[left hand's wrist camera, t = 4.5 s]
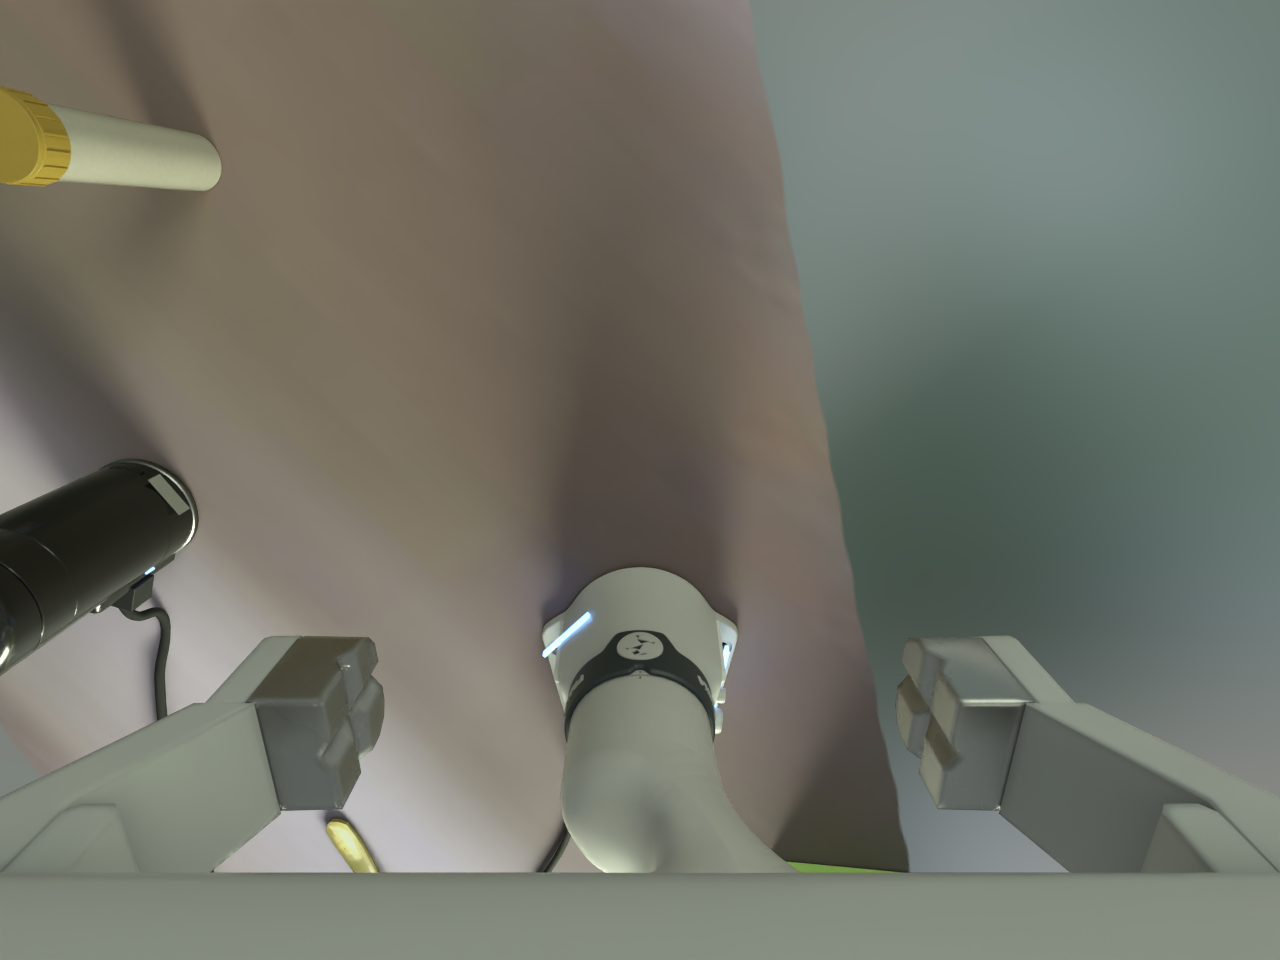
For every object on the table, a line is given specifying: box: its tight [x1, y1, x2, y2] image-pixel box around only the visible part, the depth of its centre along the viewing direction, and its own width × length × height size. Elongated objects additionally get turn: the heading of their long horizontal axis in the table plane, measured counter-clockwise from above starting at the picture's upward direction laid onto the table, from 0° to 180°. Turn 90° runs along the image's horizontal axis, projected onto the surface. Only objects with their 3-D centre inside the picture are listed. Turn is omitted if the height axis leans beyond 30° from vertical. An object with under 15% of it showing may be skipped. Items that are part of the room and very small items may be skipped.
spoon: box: [326, 819, 379, 873], centre depth 80 cm, size 35×11×2 cm, turn 22°
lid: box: [0, 87, 71, 186], centre depth 36 cm, size 5×5×2 cm
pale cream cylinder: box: [46, 103, 221, 191], centre depth 44 cm, size 4×4×17 cm
